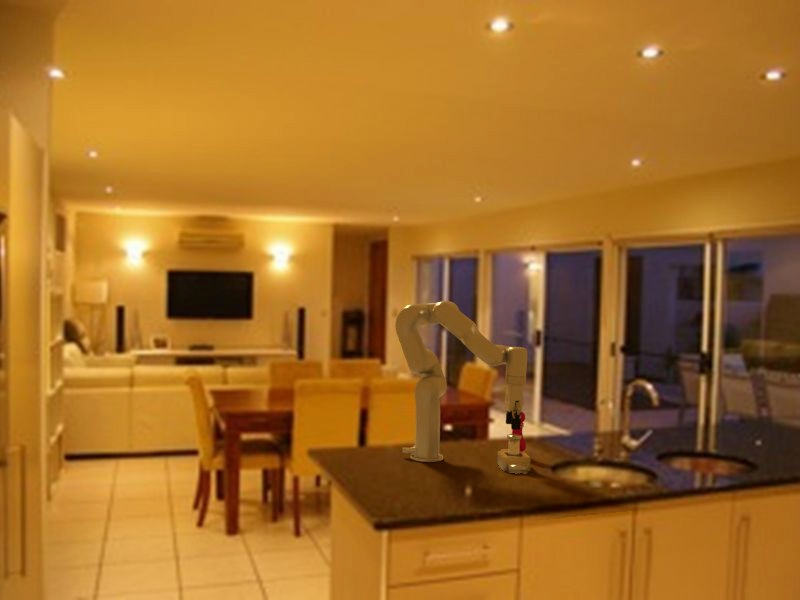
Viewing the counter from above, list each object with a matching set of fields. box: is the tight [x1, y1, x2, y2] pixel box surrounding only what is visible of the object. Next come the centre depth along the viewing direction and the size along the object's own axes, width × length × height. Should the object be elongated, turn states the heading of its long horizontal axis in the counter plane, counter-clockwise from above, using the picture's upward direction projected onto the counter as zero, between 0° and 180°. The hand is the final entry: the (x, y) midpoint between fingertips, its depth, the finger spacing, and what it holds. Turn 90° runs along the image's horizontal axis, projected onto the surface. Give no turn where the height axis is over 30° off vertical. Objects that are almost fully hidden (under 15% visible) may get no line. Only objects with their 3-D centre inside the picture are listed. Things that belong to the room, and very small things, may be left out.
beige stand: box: [497, 448, 531, 475], centre depth 253 cm, size 10×17×5 cm, turn 3°
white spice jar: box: [506, 433, 521, 456], centre depth 254 cm, size 5×5×12 cm
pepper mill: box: [507, 411, 527, 452], centre depth 271 cm, size 7×7×20 cm
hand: (512, 426), depth 254 cm, fingers open, 9 cm apart
